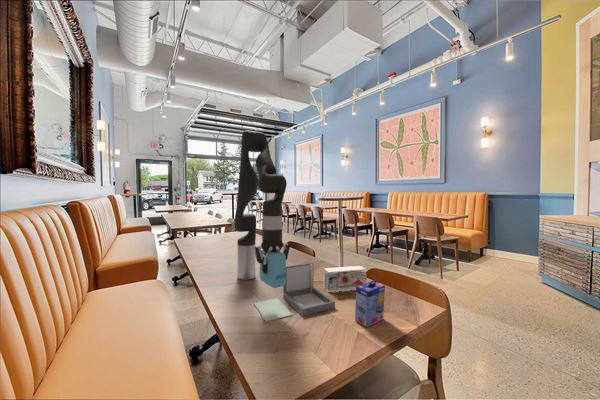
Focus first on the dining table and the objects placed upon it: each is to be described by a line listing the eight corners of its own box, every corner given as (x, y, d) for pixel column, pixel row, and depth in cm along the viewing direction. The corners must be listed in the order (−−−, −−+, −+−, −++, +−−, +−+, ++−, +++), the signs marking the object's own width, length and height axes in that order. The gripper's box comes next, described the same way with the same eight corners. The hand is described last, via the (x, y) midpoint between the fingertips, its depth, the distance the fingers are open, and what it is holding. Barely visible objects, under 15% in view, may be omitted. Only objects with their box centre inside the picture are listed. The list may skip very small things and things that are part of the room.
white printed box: (327, 293, 108) (327, 272, 108) (323, 288, 114) (323, 268, 113) (368, 289, 113) (368, 268, 113) (362, 284, 119) (362, 265, 118)
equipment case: (283, 297, 103) (283, 266, 103) (312, 291, 110) (312, 262, 109) (302, 316, 87) (302, 280, 87) (335, 308, 93) (335, 274, 93)
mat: (253, 303, 97) (253, 302, 97) (277, 299, 101) (277, 298, 101) (265, 321, 83) (265, 320, 83) (292, 315, 88) (292, 314, 88)
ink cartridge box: (367, 328, 80) (368, 284, 79) (354, 321, 84) (354, 279, 84) (385, 319, 86) (385, 278, 85) (371, 312, 90) (372, 274, 90)
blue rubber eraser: (286, 286, 89) (286, 253, 88) (275, 289, 86) (275, 255, 86) (269, 277, 98) (269, 247, 98) (259, 279, 96) (259, 249, 95)
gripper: (286, 225, 98) (285, 267, 99) (250, 227, 92) (250, 272, 92) (293, 227, 91) (293, 272, 92) (256, 230, 85) (256, 278, 86)
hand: (272, 272), depth 92 cm, fingers closed on blue rubber eraser, 5 cm apart
